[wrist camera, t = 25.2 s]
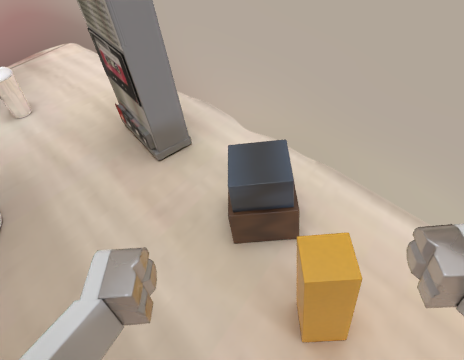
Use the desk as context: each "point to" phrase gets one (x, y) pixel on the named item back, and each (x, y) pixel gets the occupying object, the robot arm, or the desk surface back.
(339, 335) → the bar
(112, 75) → the tall grey box
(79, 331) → the robot arm
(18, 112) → the milkshake
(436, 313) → the desk surface
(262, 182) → the tower
